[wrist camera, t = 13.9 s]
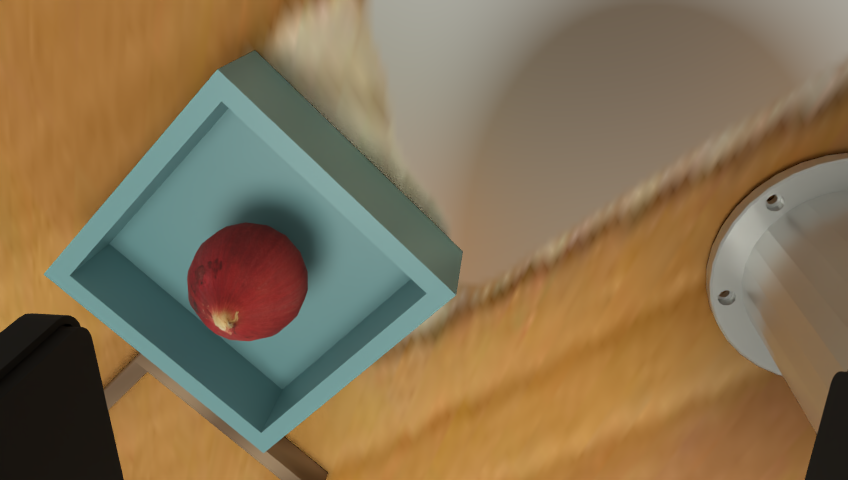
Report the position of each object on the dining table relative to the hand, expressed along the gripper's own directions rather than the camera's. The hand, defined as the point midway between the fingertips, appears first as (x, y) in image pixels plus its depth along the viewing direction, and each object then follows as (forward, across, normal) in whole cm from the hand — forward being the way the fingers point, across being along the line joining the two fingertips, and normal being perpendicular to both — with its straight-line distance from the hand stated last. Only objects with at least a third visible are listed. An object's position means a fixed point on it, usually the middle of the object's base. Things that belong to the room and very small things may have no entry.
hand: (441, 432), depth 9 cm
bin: (+28, +12, +11) cm, 33 cm away
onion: (+28, +12, +11) cm, 32 cm away
